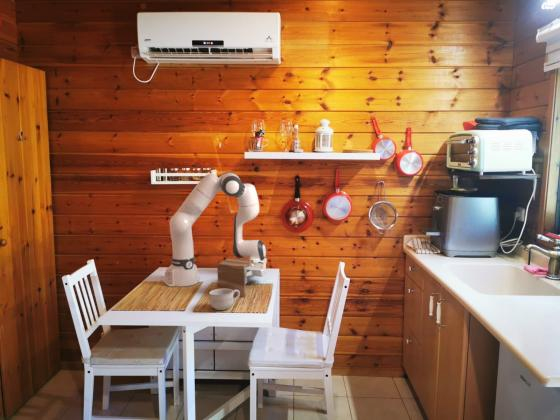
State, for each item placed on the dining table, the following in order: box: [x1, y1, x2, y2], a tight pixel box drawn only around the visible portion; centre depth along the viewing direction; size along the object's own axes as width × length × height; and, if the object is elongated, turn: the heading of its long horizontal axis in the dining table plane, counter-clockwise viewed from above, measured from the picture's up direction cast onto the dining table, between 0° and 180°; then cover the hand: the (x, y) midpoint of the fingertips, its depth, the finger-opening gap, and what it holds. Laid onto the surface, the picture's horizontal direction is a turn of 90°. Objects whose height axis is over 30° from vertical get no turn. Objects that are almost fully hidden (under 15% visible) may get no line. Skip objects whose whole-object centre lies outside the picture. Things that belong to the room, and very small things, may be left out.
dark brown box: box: [216, 258, 253, 298], centre depth 222 cm, size 12×14×16 cm
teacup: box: [208, 288, 240, 311], centre depth 201 cm, size 14×11×8 cm
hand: (240, 274), depth 228 cm, fingers closed on case, 3 cm apart
